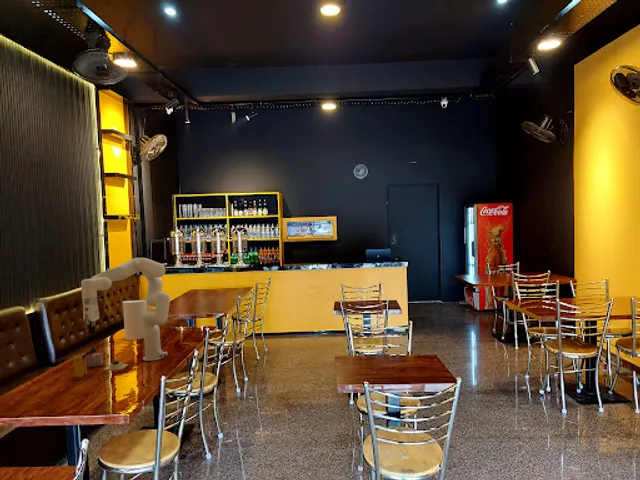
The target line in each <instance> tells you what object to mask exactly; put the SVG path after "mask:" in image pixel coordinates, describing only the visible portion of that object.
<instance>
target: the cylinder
mask: <svg viewBox="0 0 640 480" xmlns="http://www.w3.org/2000/svg"><path fill="white" fill-rule="evenodd" d="M146 309H148V305H147V303H146V299H141V300H139V299H138V300H124V301H122V311H123V325H124V339H125V340H128V341H129V340H130V341H135V340H136V341H137V340H142V339H143V340H144V328H143V323H142V319H141V315H142V313H143V311H144V310H146Z"/></svg>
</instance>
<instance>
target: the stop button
mask: <svg viewBox="0 0 640 480" xmlns="http://www.w3.org/2000/svg"><path fill="white" fill-rule="evenodd" d="M119 362H120V360H118V359H117V360H112V362H111V363H112V364H113V365H115V364H119Z"/></svg>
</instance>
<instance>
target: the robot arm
mask: <svg viewBox="0 0 640 480" xmlns="http://www.w3.org/2000/svg"><path fill="white" fill-rule="evenodd" d="M139 272H140V273H142V275H143V276H144V277H145V279H146V281H147V292H146V298H145V300H146V304H147V306H148V307H153V308H147V309H146V310H144V311H143V313H142V315H141V319H142V323H143V328H144V338H143V340H144V341H143V342H144V354H145V355H144V356H143V357H142V361H145V362H154V361H160V360H163V359H164V358H165V357H166V356H168V355H169V353H168V351H163V349H162V345H161V344H162V343H161V329H160V326H162V325H165V324H166V323H167V321H168V317H169V311H170V304H171V298H170V296H169V294H168V293H167V292H164V291H162V290H163V280H162V277H164V276H165V274H166V267H165V265H163V264H162V263H160V262H157V261H155V260H152V259H150V258H146V257H134V258H131V259H130V260H127V261H125V262H124V263H122V264H120V265H118V266H115V267H112V268H111V269H107V270H104V271H101V272H99V273H97V274H95V275H93V276H91V278H85V279H82V280H81V282H80V283H81V284H80V285H81V298H82V299H81V300H82V305H83V309H82V311H83V312H82V313H83V314H82V316H83V317H82V318H83V322H84V323H85V325H86V326H87V333H88V335H93V334H96V322H97V321H98V320H99V319H100V312H99V304H98V291H108V290H109V289H110V288H111V287H112V284H113V282H118V281H124V280H126V279H127V278H130V277H131V276H133V275H135V274H137V273H139Z"/></svg>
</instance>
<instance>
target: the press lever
mask: <svg viewBox="0 0 640 480" xmlns="http://www.w3.org/2000/svg"><path fill="white" fill-rule="evenodd" d="M96 352H97V348H96V347H95V346H92V347H90V349H89V351H88V352H86V353H84V354H85V355H83V356H82V355H81V356H82V360H83V359H84V358H83V357H85V356H86V355H88V354H90V353H95V354H96Z"/></svg>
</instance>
